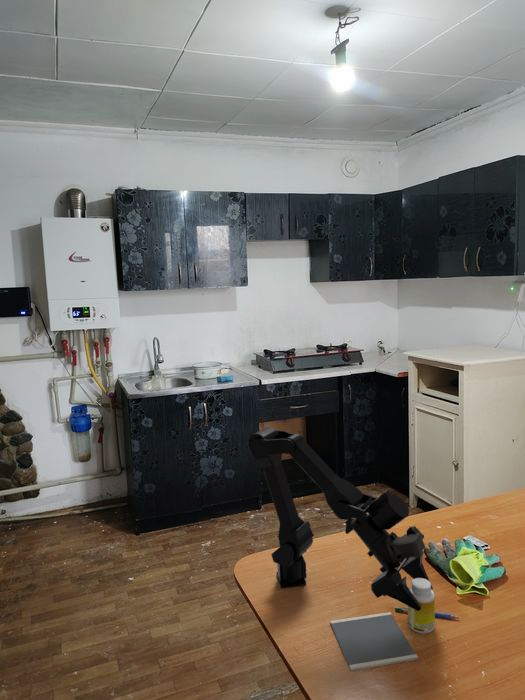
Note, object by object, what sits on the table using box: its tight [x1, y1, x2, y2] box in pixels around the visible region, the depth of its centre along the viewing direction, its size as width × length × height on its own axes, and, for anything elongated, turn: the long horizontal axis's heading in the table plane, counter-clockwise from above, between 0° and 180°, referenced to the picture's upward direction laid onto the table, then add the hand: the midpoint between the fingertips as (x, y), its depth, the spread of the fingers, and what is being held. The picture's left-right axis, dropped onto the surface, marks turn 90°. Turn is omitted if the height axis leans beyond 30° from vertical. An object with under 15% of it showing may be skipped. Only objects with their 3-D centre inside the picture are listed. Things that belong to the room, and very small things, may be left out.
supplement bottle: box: [407, 578, 436, 634], centre depth 113 cm, size 6×6×10 cm
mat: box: [329, 611, 419, 672], centre depth 110 cm, size 14×14×1 cm
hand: (425, 599), depth 112 cm, fingers open, 7 cm apart
